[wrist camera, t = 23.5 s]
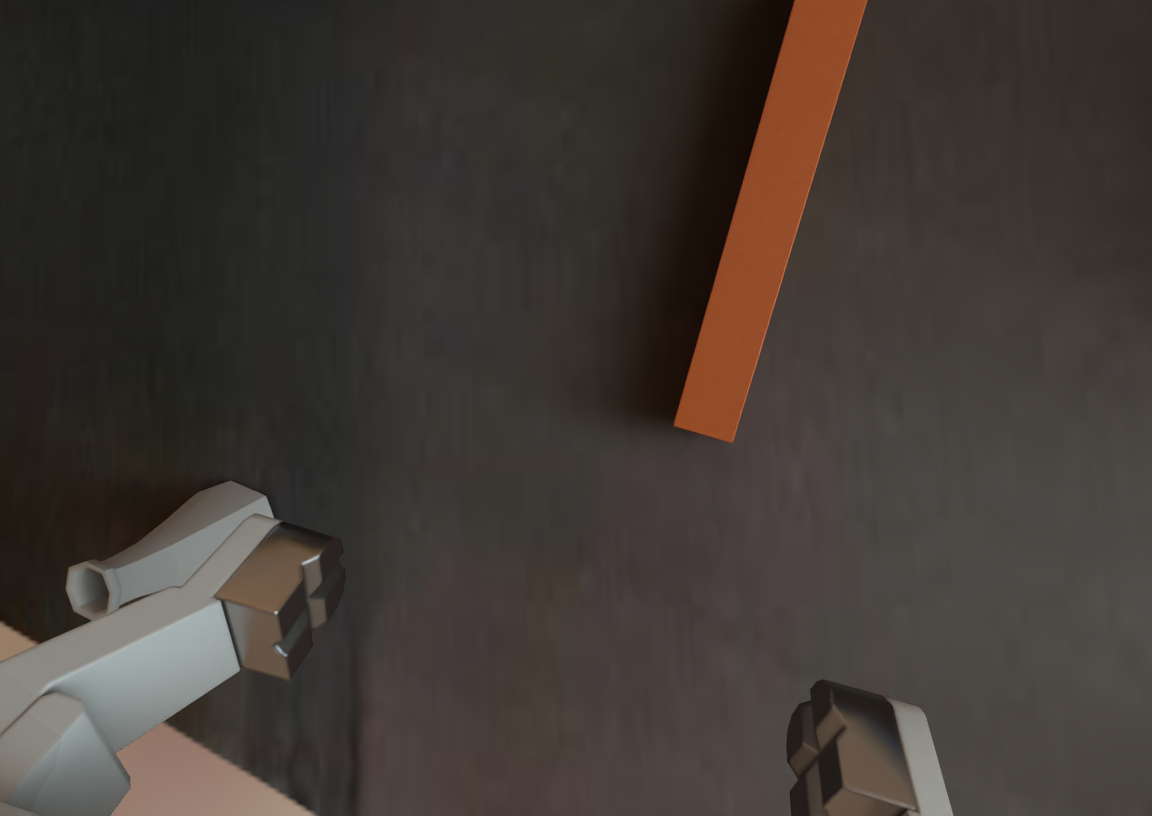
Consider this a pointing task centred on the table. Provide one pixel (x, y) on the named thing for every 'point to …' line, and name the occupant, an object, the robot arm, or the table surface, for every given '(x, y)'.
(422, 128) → the table surface
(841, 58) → the rod
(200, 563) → the flask
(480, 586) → the table surface
